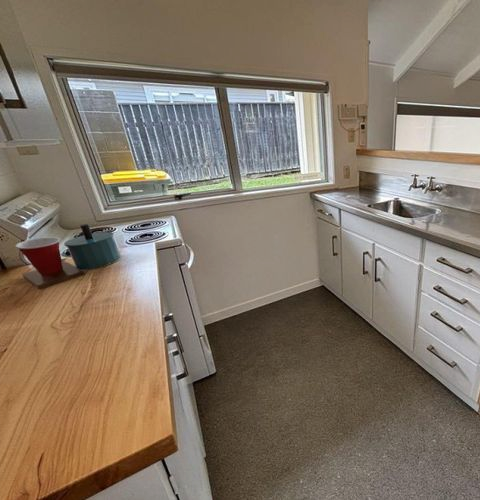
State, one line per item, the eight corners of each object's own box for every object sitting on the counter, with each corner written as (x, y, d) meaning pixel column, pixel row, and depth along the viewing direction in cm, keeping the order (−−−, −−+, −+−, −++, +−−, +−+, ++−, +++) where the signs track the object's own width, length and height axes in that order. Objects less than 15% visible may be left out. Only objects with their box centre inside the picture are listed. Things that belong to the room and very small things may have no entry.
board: (39, 289, 93) (37, 285, 93) (23, 277, 102) (21, 274, 101) (85, 274, 103) (83, 270, 102) (67, 265, 111) (65, 261, 111)
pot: (67, 271, 106) (56, 247, 102) (93, 256, 118) (84, 235, 115) (106, 267, 107) (96, 244, 104) (127, 254, 120) (120, 233, 116)
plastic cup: (59, 276, 98) (44, 244, 93) (22, 281, 96) (5, 248, 91) (80, 264, 108) (67, 234, 103) (47, 267, 106) (32, 237, 101)
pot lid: (54, 249, 102) (46, 232, 100) (84, 236, 116) (77, 220, 113) (97, 246, 103) (90, 229, 101) (122, 233, 117) (116, 218, 114)
